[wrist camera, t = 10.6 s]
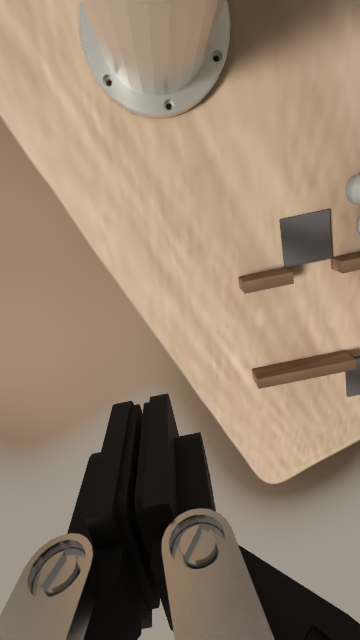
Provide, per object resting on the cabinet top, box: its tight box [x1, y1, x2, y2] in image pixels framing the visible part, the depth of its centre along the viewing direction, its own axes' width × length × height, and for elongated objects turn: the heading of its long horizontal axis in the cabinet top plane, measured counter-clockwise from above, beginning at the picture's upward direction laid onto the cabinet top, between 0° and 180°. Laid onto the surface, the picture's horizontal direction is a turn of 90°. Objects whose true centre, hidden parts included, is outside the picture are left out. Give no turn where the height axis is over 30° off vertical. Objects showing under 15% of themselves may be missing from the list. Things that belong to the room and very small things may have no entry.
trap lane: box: [238, 209, 360, 397], centre depth 37 cm, size 22×22×2 cm
